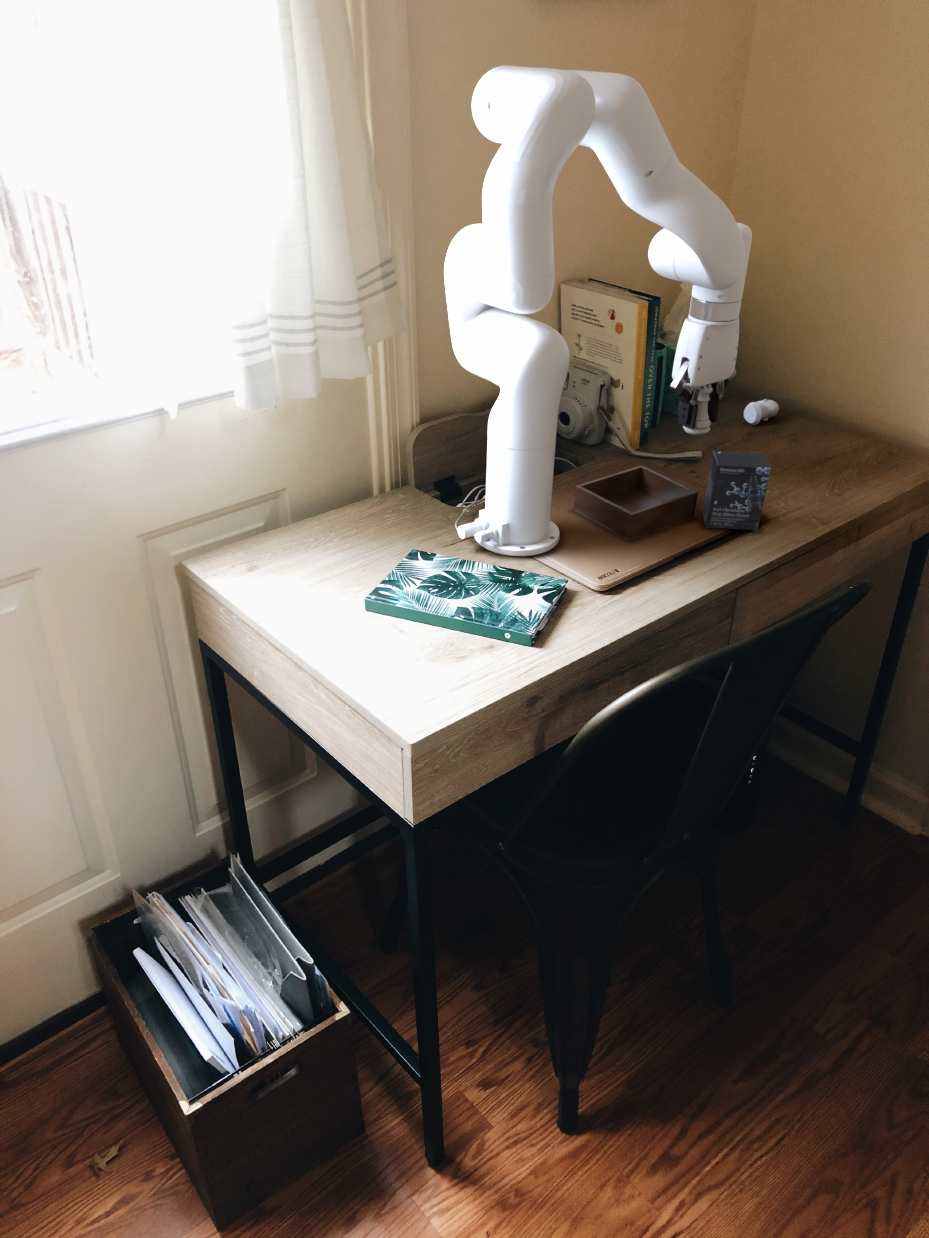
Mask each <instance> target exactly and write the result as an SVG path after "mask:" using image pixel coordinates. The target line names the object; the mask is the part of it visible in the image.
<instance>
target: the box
mask: <svg viewBox="0 0 929 1238" xmlns="http://www.w3.org/2000/svg"><path fill="white" fill-rule="evenodd" d="M771 470H772V468H771V464H770V463H769V460H768V458H767V456H766V453H764V452H743V451H726V450H725V451H723V450H718V449H717V450H715V449H713V451H712V455H711V461H710V467H709V472H708V478H707V482H706V483H707V484H706V489H705V495H704V499H703V506H702V516H703V521H704V524H705V528H707V529H712V528H713V529H730V530H740V531H741V530H743V531H751V532H753V531H754V532H756V531H757V532H758V530H759V528H760V527H759V526H760V521H761V517H762V513H763V507H764V503H765V497H766V493H767V490H768V489H767V488H768V484H769V480H770V474H771Z"/></svg>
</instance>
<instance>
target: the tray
mask: <svg viewBox="0 0 929 1238" xmlns="http://www.w3.org/2000/svg"><path fill="white" fill-rule="evenodd" d="M698 498H699V491H698V490H696V489H693V488H691V487H689V486H687V485H685V484H683V483H680V482H679V481H676V480H674V479H672V478H670V477H668V476H666V475H663V474H661V473H659V472H657V471H655V470H654V469H653V470H652V469H651V468H648V467H647V466H644V465H642V464H641V465H637V466H634V467H632V468H629V469H625V470H622V471H619V472H615V473H612V474H609V475H606V476H602V477H599V478H596V479H593V480H590V481H587V482H582V483H580V484H577V485H575V491H574V500H573V501H574V502H573V512H574V513H577V514H578V515H580V516H582V517H583V518H586V519H587V520H589V521H591V522H593V523H595V524H596V525H598V526H600V527H602V528H604V529H605V530H607V531H609V532H611V533H613V534H615V536H616V535H617V536H618V537H620V538H622V539H624V540H626V541H628V542H630V541H634V540H637V539H638V538H641V537H644V536H647V535H649V534H652V533H655V532H658V531H661V530H663V529H666V528H669V527H671V526H674V525H677V524H680V523H683V522H685V521H688V520H691V519H693V518H695V517H696V511H697V506H698V505H697V504H698Z"/></svg>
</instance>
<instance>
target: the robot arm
mask: <svg viewBox="0 0 929 1238" xmlns="http://www.w3.org/2000/svg"><path fill="white" fill-rule="evenodd" d="M471 114H472V118H473V121H474V124H475V126H476V128H477V129H478V131H479V132H480V133H481V134H482V135H483V137H485V138H486V139H487V140H489V141H491V142H493V143H497V144H501V145H500V146H499V149H498V150H497V152H496V153H495V155H494V156H493V158H492V160H491V162H490V165H489V167H488V169H487V171H486V173H485V177H484V181H483V186H482V193H481V209H482V223H479V222H478V223H473V224H469V225H467V226H465V227H463V228H462V229H460V230H459V231H458V232H457V233H456V234H455V236H454V237H453V238H452V240H451V241H450V244H449V245H448V249H447V252H446V255H445V260H444V267H443V278H444V290H445V298H446V299H445V300H446V307H447V315H448V324H449V331H450V339H451V345H452V350H453V353H454V356H455V358H456V360H457V362H458V363H459V365H460V366H461V367H462V369H464V370H466V371H467V372H469V373H470V374H472V375H475V376H477V377H478V378H481V379H483V380H486V381H488V382H491V383H492V384H494V385H496V386H498V387H499V389H500V391H499V395H498V397H497V399H496V400H495V402H494V404H493V406H492V408H491V410H490V412H489V415H488V420H487V439H486V440H487V442H486V443H487V445H486V470H485V471H486V473H485V475H486V477H485V500H484V501H485V505H484V508H483V509H480V510H478V517H477V518H475V519H474V521H473V522H468V523H465V524H461V525H459V526H458V527H457V529H456V531H457V536H458V537H459V538H460V539H462V540H465V539H467V538H470V537H473V538H474V540H475V541H476V543H477V544H479V545H480V546H481V547H482V548H484V549H486V550H488V551H489V552H492V553H495V554H499V555H504V556H510V557H529V556H530V557H531V556H536V555H540V554H544V553H546V552H548V551H551V550H552V549H553V548H554V547H556V546H557V545H558V543H559V541H560V529H559V527H558V525H557V524H556V523H555V522H553V521H552V520H551V511H552V497H553V485H554V470H555V458H556V457H555V456H556V443H557V430H558V429H557V428H558V417H559V410H560V403H561V398H562V394H563V389H564V387H565V382H566V379H567V376H568V372H569V367H570V361H571V360H570V359H571V358H570V357H571V356H570V349H569V346H568V343H567V341H566V340H565V338H564V336H562V334H561V333H560V332H559V331H557V329H555V328H553V327H552V326H550V325H549V324H547V323H545V322H542V321H540V320H537V319H534V318H532V317H529V316H526V315H532V314H537V312H540V311H542V310H543V309H545V308H546V307H547V305H548V304H549V303H550V301H551V299H552V297H553V294H554V288H555V282H556V272H555V271H556V270H555V249H554V248H555V246H554V245H555V244H554V223H553V196H554V191H555V187H556V183H557V180H558V178H559V175H560V174H561V171H562V169H564V168H563V167H564V166H565V164H566V162H567V161H568V159H570V157H571V155H572V154H573V153H574V152H575V150H576V149H577V148H578V147H579V146H580V147H587V148H590V149H591V150H592V151H593V152H594V153H595V155H596V157H597V158H598V160H599V162H600V164H601V165H602V167H603V168H604V170H605V173H606V174H607V175H608V178H609V179H610V182H611V183H612V184H613V187H614V188H615V190H616V192H617V194H618V196H619V197H620V199H621V201H622V202H623V203H624V204H625V205H626V206H627V207H628V208H629V209H631V210H632V211H633V212H635V213H636V214H638V215H639V216H641V217H642V218H644V219H646V220H648V221H650V222H651V223H654V224H656V225H658V226H660V227H662V229H660V230H659V231H658V232H657V233H655V235H654V236H653V237H652V239H651V241H650V243H649V246H648V251H647V257H648V262H649V265H650V267H651V268H652V270H653V271H654V272H655V273H656V274H657V275H659V276H661V277H662V278H663V277H664V278H666V279H669V280H673V281H677V282H680V283H685V284H688V285H692V288H691V295H690V296H691V297H690V303H689V311H688V317H687V318H685V319H684V322H683V324H682V327H681V330H680V333H679V337H678V339H677V340H678V341H677V344H676V349H675V354H674V359H673V365H672V372H671V378H672V382H671V383H670V385H669V389H670V390H671V391H672V392H674V394H675V395H676V396H677V398H678V401H680V406H679V413H678V418H677V419H678V420H677V424H678V425H680V426H682V427H683V426H685V427H687V428H689V429H693V428H695V425H696V418H697V412H698V405H697V404H696V401H697V398H698V395H699V391H700V388H701V386H704V385H707V384H708V385H709V384H711V387H712V389H713V391H712V392H711V393H710V394H709V398H710V400H709V401H708V416H709V420H710V421H711V424H713V423H716V422H717V421H718V415H719V408H720V403H721V399H722V398H723V397H724V396H725V395H724V393H725V389H726V388H727V387H728V386H729V384H730V382H731V381H732V379H734V377H735V376H736V375H737V370H736V363H737V356H738V349H739V339H740V312H741V306H742V300H743V295H744V289H745V283H746V277H747V270H748V266H749V265H748V264H749V260H750V258H749V257H750V253H751V247H752V239H753V231H752V229H751V227H750V226H748V225H747V224H745V223H742V222H738V221H736V219H735V217H734V215H733V213H732V212H731V210H730V209H729V207H728V206H727V205H726V204H725V202H724V201H723V200H722V199H721V198H720V197H719V196H718V195H717V194H716V193H714V191H713V190H711V188H709V187H708V186H707V185H706V184H705V183H704V182H703V181H702V180H701V179H700V178H699V177H698V176H697V175H695V174H694V173H693V172H692V171H691V170H689V169H688V168H687V167H686V166H685V165H684V164H683V163H681V161H680V160H679V158H678V156H677V154H676V152H675V150H674V147H673V146H672V144H671V142H670V139H669V138H668V136H667V134H666V132H665V129H664V128H663V125H662V123H661V121H660V118H659V117H658V114H657V113H656V111H655V108H654V106H653V105H652V103H651V100H650V99H649V97H648V94H647V93H646V91H645V89H644V87H643V86H642V84H641V83H640V82H639V81H637V79H635V78H633V77H632V76H630V75H627V74H625V73H618V72H609V71H594V70H580V69H561V68H552V67H551V68H550V67H532V66H522V65H521V66H519V65H509V64H508V65H507V64H505V65H499V66H494V67H493V68H491V69H490V70H488V71H487V72H485V73H484V74H483V75H482V76H481V78H480V79H479V80H478V82H477V83H476V86H475V87H474V91H473V93H472V97H471ZM692 388H693V389H692ZM690 389H692V390H691V392H690Z"/></svg>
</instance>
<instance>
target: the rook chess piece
mask: <svg viewBox="0 0 929 1238" xmlns="http://www.w3.org/2000/svg"><path fill="white" fill-rule="evenodd" d="M691 389H693V388H691ZM712 391H713V389H712V387H711V384H709V385H708V384H707V385H704V386H701V388H700V391H699V395H698V398H697V401H696V404H697V405H698V412H697V418H696V425H695V428H693V429H689V428H687V427H685V426H682V429H683V431H684V432H685V433H687V434H690V435H692V436H693V435H694V436H703V435H704V436H705V435H706V434H708V433H709V432H710V431H711V427H710V426H711V424H712V422H711V421H710V420H709V416H708V401H709V400H710V398H709V394H710V393H711V392H712Z"/></svg>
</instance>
